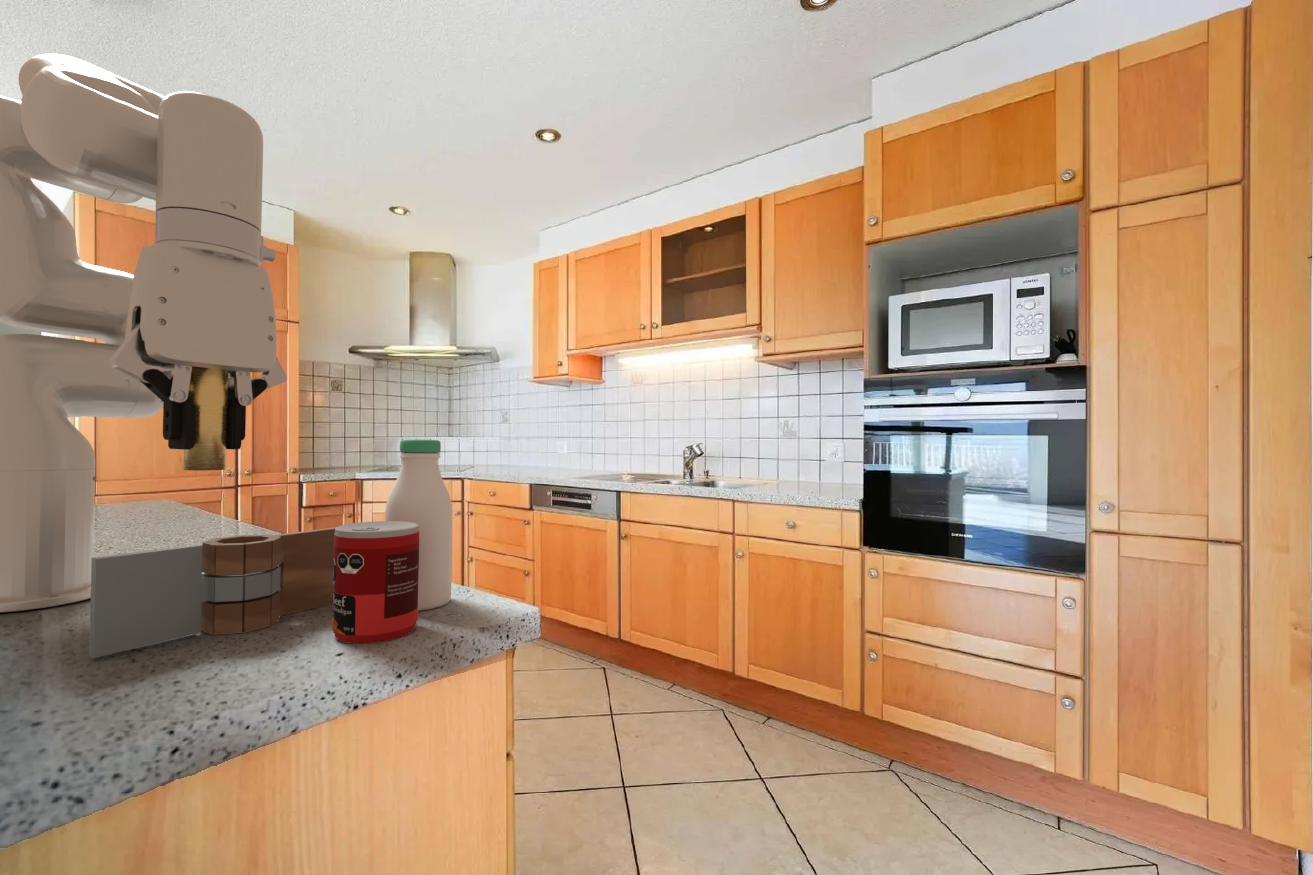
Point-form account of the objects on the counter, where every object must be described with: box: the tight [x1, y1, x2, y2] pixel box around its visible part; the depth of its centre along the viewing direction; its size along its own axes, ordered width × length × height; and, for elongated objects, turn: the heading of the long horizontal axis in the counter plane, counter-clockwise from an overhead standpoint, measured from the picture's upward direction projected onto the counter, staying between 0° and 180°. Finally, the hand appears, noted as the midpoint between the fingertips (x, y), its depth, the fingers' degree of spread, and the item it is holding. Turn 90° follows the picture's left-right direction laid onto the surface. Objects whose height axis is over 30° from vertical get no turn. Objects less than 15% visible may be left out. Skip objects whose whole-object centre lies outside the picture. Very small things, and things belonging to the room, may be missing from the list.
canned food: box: [332, 520, 419, 644], centre depth 60 cm, size 8×8×11 cm
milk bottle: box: [384, 438, 453, 612], centre depth 70 cm, size 8×8×20 cm
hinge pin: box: [182, 366, 228, 472], centre depth 52 cm, size 3×3×10 cm
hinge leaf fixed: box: [201, 526, 337, 636], centre depth 66 cm, size 6×16×9 cm, turn 151°
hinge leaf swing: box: [88, 544, 281, 659], centre depth 58 cm, size 6×15×9 cm, turn 151°
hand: (205, 447), depth 52 cm, fingers closed on hinge pin, 3 cm apart
